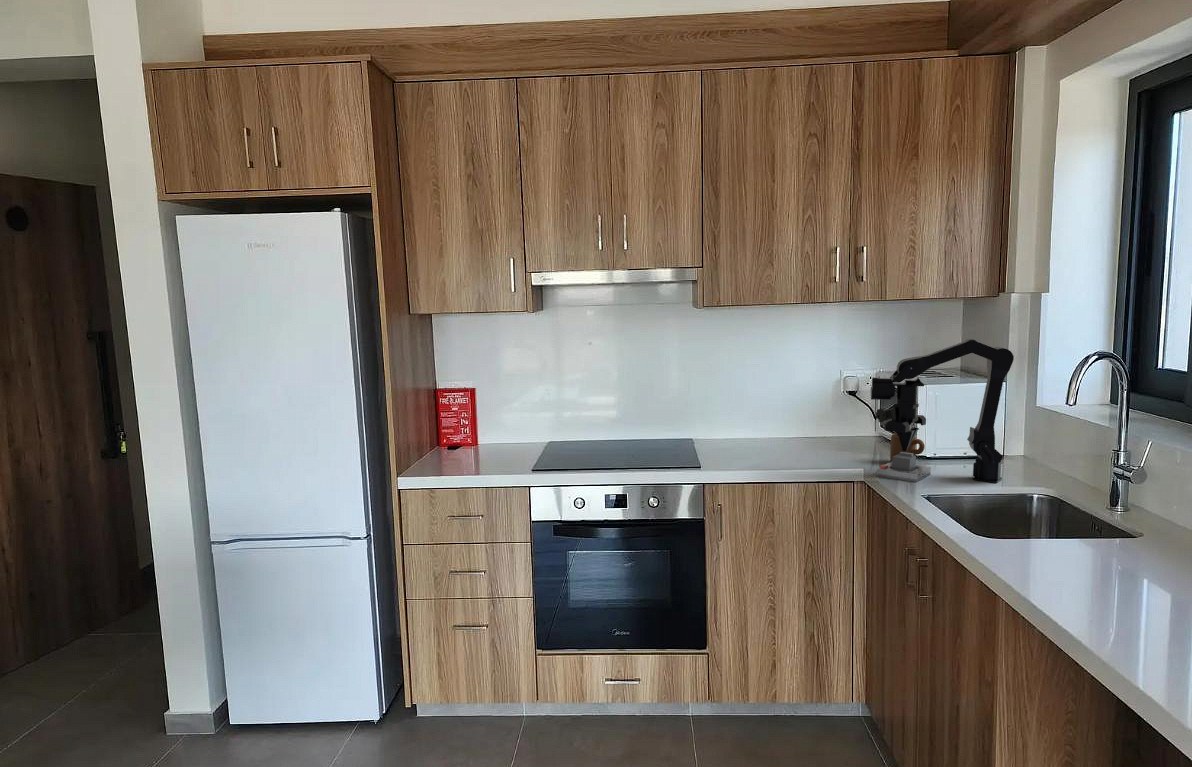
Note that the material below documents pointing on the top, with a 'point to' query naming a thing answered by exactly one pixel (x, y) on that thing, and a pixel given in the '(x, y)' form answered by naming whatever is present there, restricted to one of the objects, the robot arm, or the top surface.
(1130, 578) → the top surface
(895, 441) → the mug
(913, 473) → the socket plate
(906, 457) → the plug
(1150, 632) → the top surface
